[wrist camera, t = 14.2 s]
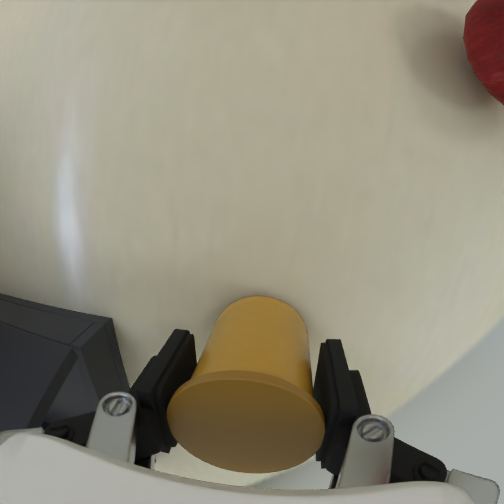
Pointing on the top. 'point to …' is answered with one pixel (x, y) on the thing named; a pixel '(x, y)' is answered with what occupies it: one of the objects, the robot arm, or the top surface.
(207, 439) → the coffee pod
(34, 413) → the lid
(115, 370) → the dark grey lidded tray
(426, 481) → the robot arm
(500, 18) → the onion
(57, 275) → the top surface
